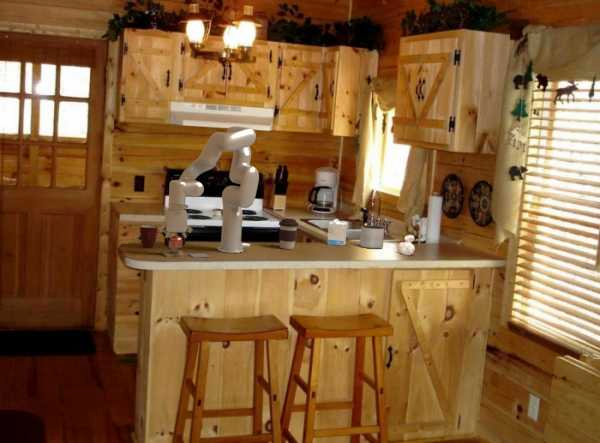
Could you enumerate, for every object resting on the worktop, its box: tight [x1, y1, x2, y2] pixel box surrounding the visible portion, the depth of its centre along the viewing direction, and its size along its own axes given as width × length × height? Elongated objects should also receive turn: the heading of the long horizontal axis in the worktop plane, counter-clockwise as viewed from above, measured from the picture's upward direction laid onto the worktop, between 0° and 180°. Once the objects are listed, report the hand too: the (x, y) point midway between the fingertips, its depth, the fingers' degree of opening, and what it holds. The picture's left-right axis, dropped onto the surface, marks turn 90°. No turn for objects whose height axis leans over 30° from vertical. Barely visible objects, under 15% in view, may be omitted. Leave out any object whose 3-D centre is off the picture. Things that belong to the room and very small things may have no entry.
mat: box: [187, 253, 211, 259], centre depth 378 cm, size 8×8×1 cm
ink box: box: [326, 218, 348, 246], centre depth 442 cm, size 9×8×13 cm
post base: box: [160, 247, 189, 258], centre depth 375 cm, size 10×10×7 cm
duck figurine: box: [397, 234, 416, 256], centre depth 426 cm, size 12×8×11 cm
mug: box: [139, 224, 158, 249], centre depth 389 cm, size 11×8×10 cm
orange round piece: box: [167, 235, 183, 248], centre depth 375 cm, size 7×7×5 cm
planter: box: [359, 224, 385, 250], centre depth 441 cm, size 13×13×11 cm
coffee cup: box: [278, 218, 299, 250], centre depth 416 cm, size 10×10×15 cm
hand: (174, 245), depth 375 cm, fingers closed on orange round piece, 6 cm apart
